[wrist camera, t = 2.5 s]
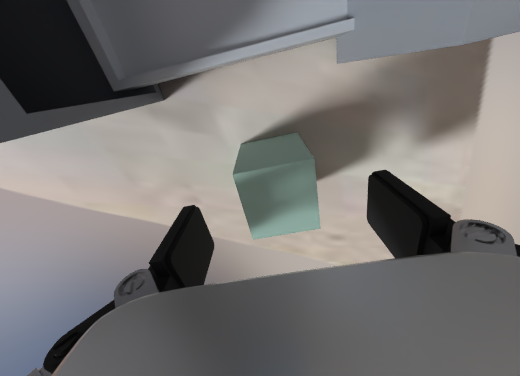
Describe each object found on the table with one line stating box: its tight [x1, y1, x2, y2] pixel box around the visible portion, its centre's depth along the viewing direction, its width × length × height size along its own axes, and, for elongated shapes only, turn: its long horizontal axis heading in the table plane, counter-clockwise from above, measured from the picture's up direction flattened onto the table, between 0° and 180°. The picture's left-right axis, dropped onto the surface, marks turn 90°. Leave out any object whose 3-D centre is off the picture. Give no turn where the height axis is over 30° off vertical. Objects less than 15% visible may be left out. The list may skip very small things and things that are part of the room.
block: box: [233, 132, 320, 239], centre depth 13 cm, size 4×4×5 cm
